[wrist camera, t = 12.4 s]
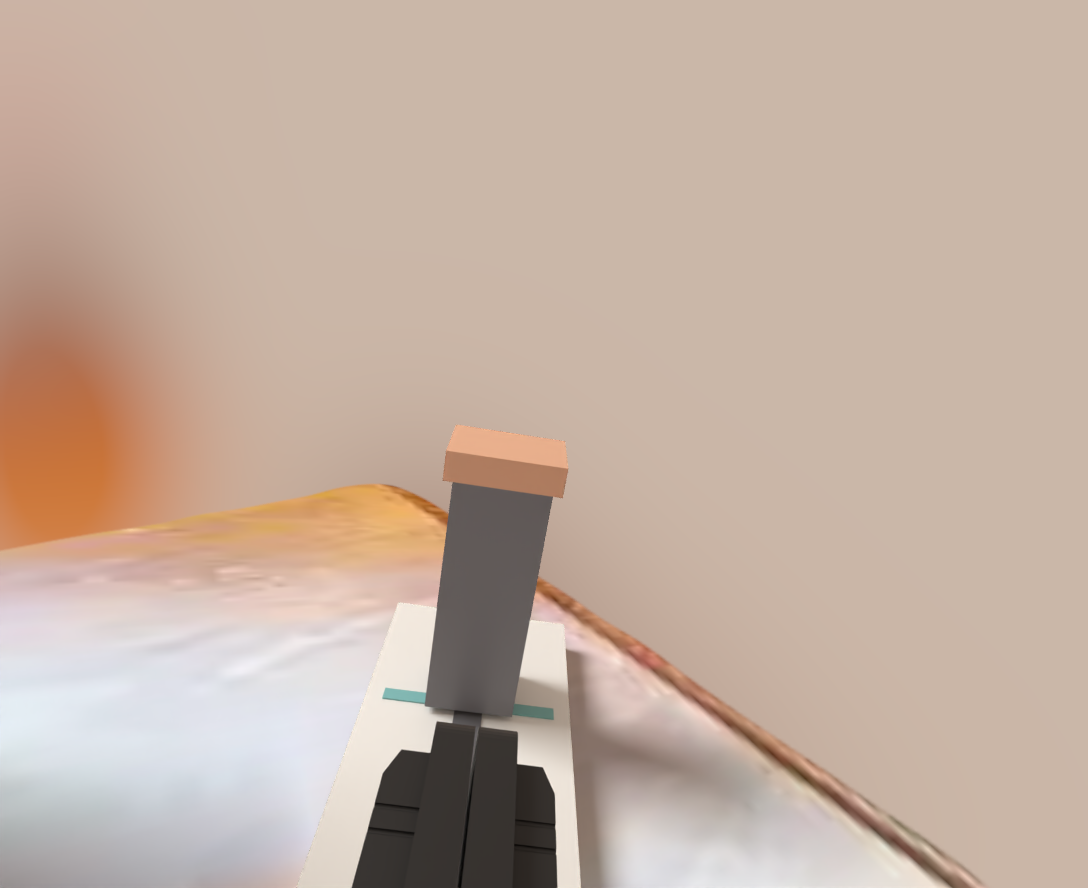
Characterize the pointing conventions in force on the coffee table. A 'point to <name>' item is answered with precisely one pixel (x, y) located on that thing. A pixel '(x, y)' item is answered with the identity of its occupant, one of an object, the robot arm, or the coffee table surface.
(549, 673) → the plate
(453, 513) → the post
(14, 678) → the coffee table surface
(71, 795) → the coffee table surface
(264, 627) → the coffee table surface
